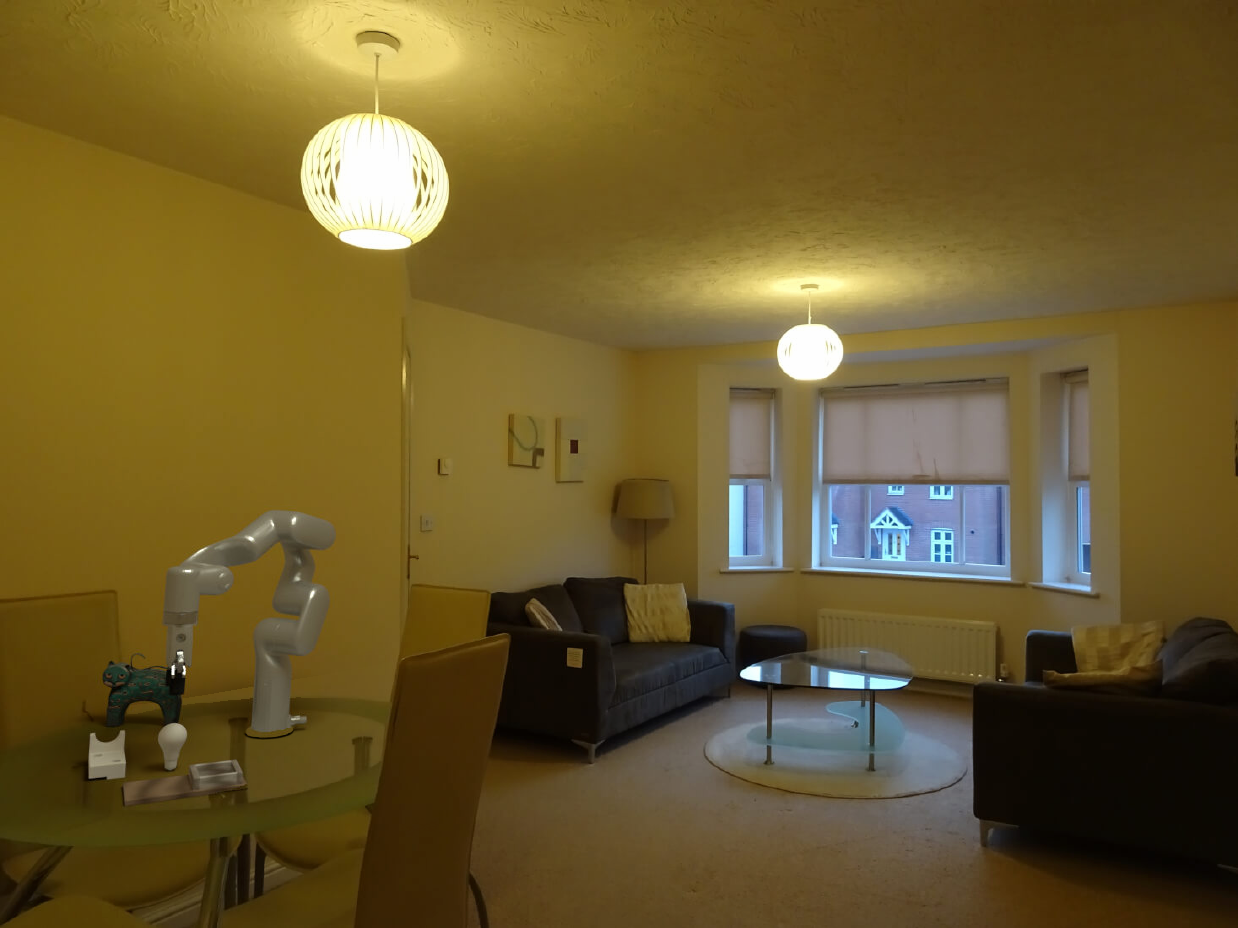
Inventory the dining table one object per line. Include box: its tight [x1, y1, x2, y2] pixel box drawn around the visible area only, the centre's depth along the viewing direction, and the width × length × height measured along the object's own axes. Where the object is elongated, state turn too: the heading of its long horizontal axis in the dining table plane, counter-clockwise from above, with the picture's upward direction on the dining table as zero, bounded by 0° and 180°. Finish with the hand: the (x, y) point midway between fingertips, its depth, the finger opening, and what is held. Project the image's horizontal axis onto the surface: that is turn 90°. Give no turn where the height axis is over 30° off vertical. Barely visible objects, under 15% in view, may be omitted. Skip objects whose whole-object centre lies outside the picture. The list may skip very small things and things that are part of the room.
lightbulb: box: [157, 722, 188, 771], centre depth 198 cm, size 6×6×11 cm
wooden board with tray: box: [122, 759, 248, 807], centre depth 188 cm, size 24×12×4 cm, turn 123°
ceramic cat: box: [102, 652, 183, 728], centre depth 232 cm, size 20×6×20 cm, turn 99°
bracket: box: [87, 729, 127, 780], centre depth 196 cm, size 13×7×8 cm, turn 33°
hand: (174, 690), depth 198 cm, fingers open, 9 cm apart
